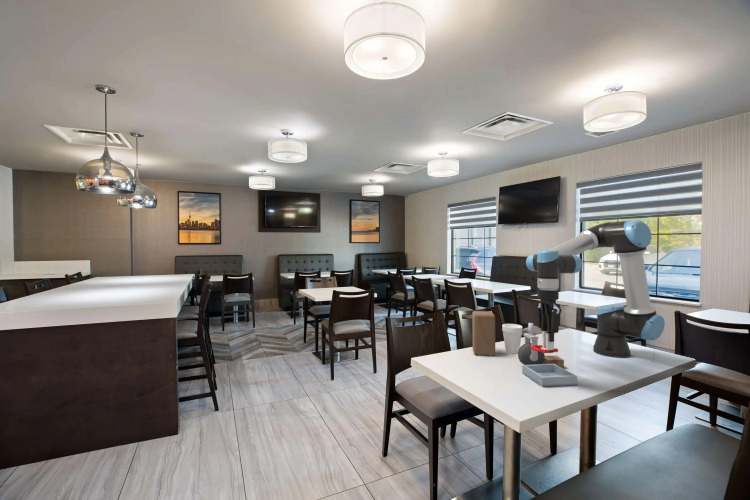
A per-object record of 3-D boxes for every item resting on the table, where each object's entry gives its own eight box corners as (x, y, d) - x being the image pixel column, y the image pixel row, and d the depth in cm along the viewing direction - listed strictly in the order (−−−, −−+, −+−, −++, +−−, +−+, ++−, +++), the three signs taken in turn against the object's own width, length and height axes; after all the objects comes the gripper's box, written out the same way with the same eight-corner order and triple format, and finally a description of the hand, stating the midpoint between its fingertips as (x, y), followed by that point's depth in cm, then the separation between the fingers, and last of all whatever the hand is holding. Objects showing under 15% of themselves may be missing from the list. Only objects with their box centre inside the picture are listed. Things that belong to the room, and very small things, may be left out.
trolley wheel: (538, 364, 153) (537, 321, 153) (546, 368, 147) (545, 324, 147) (516, 365, 152) (516, 322, 152) (523, 369, 146) (523, 325, 146)
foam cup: (500, 352, 171) (499, 326, 171) (504, 348, 179) (504, 323, 179) (520, 355, 166) (520, 328, 166) (524, 351, 173) (524, 325, 173)
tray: (554, 372, 144) (554, 363, 144) (577, 385, 130) (577, 375, 130) (522, 373, 142) (522, 365, 142) (542, 387, 128) (542, 377, 128)
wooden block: (495, 356, 165) (495, 315, 165) (474, 355, 167) (473, 314, 167) (492, 350, 174) (492, 311, 174) (472, 349, 176) (472, 310, 176)
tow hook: (526, 348, 143) (543, 354, 134) (525, 317, 143) (542, 321, 134) (542, 346, 145) (560, 352, 136) (541, 316, 146) (559, 319, 137)
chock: (556, 364, 154) (556, 355, 154) (564, 369, 148) (563, 359, 148) (541, 364, 154) (541, 355, 154) (547, 369, 148) (547, 359, 148)
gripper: (528, 287, 143) (528, 343, 143) (550, 291, 128) (550, 354, 128) (545, 286, 144) (545, 343, 144) (569, 291, 129) (569, 354, 129)
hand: (548, 348), depth 136 cm, fingers closed on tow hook, 2 cm apart
